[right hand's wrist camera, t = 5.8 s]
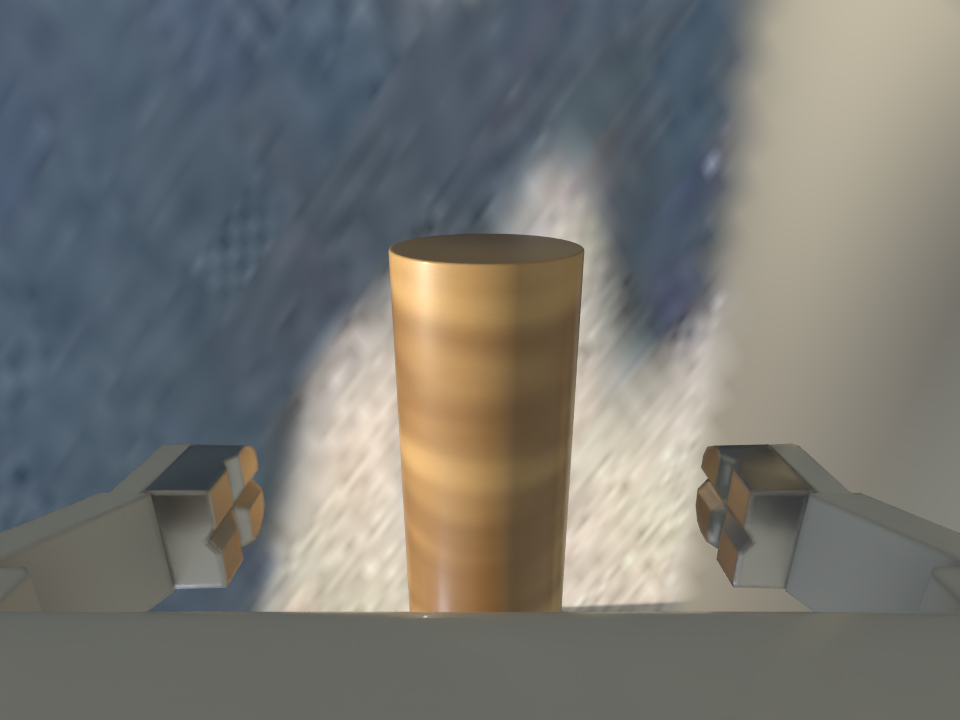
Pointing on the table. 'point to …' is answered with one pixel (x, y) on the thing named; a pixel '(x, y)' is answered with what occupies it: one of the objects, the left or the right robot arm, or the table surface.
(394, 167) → the table surface
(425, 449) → the rod
